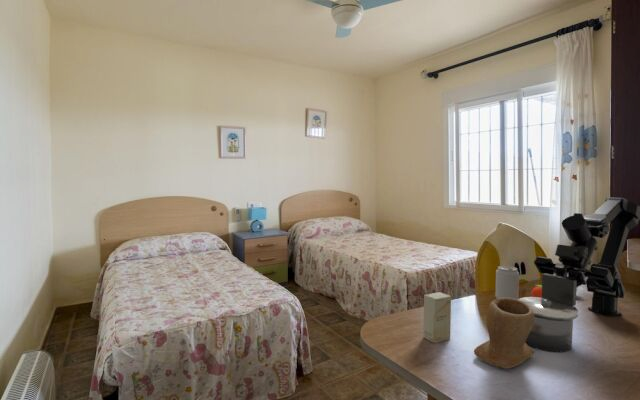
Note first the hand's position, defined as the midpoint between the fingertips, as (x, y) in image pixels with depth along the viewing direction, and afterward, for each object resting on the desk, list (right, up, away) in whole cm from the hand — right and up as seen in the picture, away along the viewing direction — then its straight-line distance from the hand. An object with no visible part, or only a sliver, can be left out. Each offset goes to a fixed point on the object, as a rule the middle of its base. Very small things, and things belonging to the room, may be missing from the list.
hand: (560, 294), depth 100 cm
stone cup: (-22, -12, -14) cm, 29 cm away
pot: (-9, -11, -1) cm, 15 cm away
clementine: (+9, -10, +23) cm, 27 cm away
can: (0, -10, +28) cm, 30 cm away
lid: (-6, -3, -4) cm, 8 cm away
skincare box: (-36, -12, -2) cm, 38 cm away
